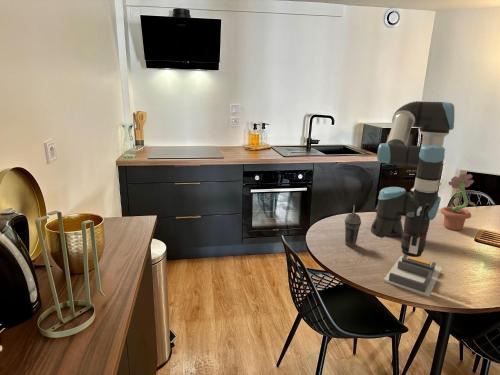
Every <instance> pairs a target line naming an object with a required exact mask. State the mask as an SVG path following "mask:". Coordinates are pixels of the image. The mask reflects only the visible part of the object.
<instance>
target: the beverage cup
mask: <svg viewBox="0 0 500 375" xmlns="http://www.w3.org/2000/svg"><path fill="white" fill-rule="evenodd" d="M355 207H356V204H354V205H353V209H352V210H353V211H352V212H351V213H348V214H347V215H346V217H345V219H344V227H345V230H344V231H345V236H344V238H345V239H344V241H345V243H344V244H345V246H346V247H349V248H354V247H356V245H357V240H358V235H359V230H360V227H361V224H362V221H361V219H362V218H361V217H360V215H359V214H357V213H355V209H356V208H355Z"/></svg>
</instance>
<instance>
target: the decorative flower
mask: <svg viewBox="0 0 500 375" xmlns="http://www.w3.org/2000/svg"><path fill="white" fill-rule="evenodd" d="M472 178H473V175H472V174H471V173H469V174H467V173H461V174H459V176H456V175H455V176H453V177H452V178H451V179H450V181H448V186H451V188H452V189H460V191H461V192H458V193H457V194H456V193H455V194H454V196H453V198H459V197H460V196H461V195H462V199H463V204H462V205H455V206H444V207H442V208H441V209H440V213H441V214H442V215H443V226H444V227H445V229H447V230H452V231H461V230H462V229H463V228H464V225H465V222H466V220H468V219H471V217H472V213H471V212H470V211H469V210H467V209H465V208H467V206H468V205H471V206H472V207H473V206H474V207H476V206H477V205H476V204H475V203H474V202H473V201H469V198H468V195H467V193H466V188H468V187H470V186H471V185H473V183H474V182H475V181H474V179H472Z"/></svg>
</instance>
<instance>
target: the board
mask: <svg viewBox="0 0 500 375" xmlns="http://www.w3.org/2000/svg"><path fill="white" fill-rule="evenodd" d="M408 257H409V256H407V255H405V254H403V255H400V257H398V259H397V261H396V262H395V263H394V265H393V266H392V267H391V269H390V270H389V272H387V274H386V276H385V277H384V278H383V282H384V283H387V284H390V285H394V286H396V287H399V288H402V289H405V290H408V291H411V292H413V293H417V294H418V295H419V294H420V295H422V296H424V297H428V298H430V297H431V295H432V293H433V289H434V286H436V282H437V280H438V278H439V276H440V274H441V271H442V269H443V267H442V266H439V265H436V264H437V263H436V262H435V261H432V263H431V264H430V266H429V265H425V264H422V263H418V262H415V261H412V260H408Z"/></svg>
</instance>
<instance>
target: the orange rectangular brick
mask: <svg viewBox="0 0 500 375" xmlns="http://www.w3.org/2000/svg"><path fill="white" fill-rule="evenodd" d="M408 260H412V261H415V262H418V263H422V264H425V265H429V266H430V264H432V263H431V262H432V261H431V260H427V259H424V258H420V257H411V256H408Z"/></svg>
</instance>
